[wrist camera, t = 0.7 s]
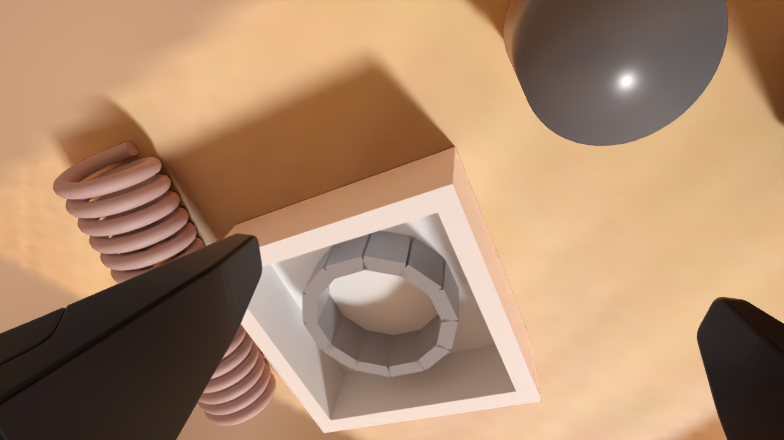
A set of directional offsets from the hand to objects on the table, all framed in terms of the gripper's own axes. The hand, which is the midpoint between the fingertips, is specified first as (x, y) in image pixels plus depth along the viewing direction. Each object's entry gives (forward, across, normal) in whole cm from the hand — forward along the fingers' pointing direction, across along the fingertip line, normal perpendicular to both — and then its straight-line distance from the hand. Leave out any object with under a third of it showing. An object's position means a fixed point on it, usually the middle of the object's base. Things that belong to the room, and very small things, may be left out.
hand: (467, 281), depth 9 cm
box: (+12, +4, +11) cm, 17 cm away
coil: (+12, +15, +12) cm, 23 cm away
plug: (+12, -3, -4) cm, 13 cm away
